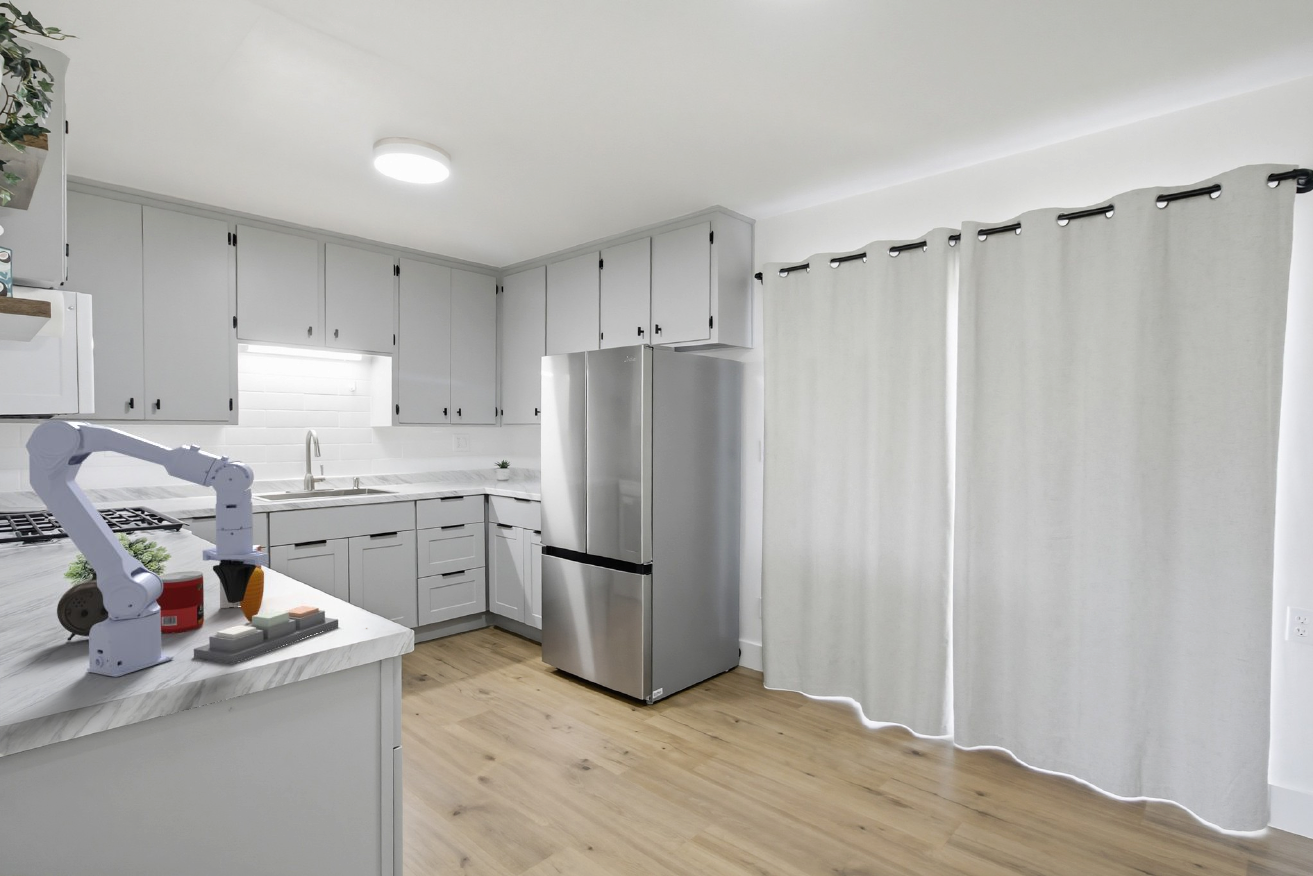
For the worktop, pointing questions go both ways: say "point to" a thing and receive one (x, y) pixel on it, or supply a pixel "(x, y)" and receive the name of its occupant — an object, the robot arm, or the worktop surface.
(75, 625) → the alarm clock
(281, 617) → the sage key
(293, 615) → the terracotta key
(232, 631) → the offwhite key
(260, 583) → the carrot
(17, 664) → the worktop surface
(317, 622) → the keypad console
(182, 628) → the canned food
